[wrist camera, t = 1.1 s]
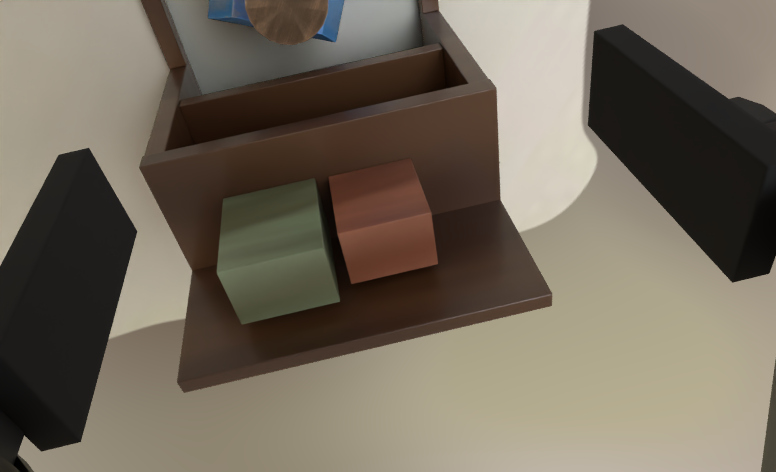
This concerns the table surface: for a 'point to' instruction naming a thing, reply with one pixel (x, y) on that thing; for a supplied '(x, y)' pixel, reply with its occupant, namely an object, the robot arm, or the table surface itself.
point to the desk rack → (335, 206)
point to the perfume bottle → (283, 18)
